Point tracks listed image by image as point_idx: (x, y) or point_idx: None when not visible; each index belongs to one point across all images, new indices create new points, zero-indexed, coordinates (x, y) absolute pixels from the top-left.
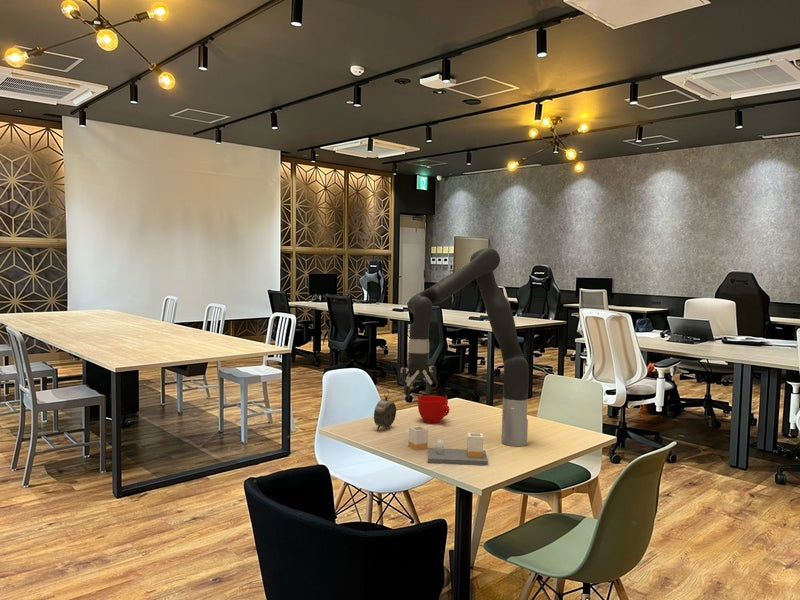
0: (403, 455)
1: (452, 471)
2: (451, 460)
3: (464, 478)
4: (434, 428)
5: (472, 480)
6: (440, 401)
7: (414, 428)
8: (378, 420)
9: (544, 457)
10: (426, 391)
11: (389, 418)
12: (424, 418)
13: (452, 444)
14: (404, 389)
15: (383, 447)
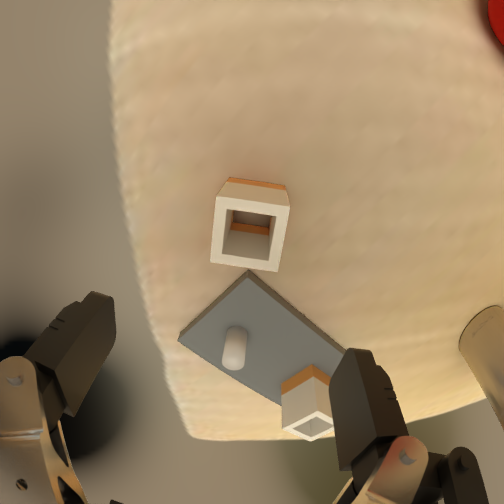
0: (153, 247)
1: (198, 389)
2: (229, 373)
3: (194, 414)
4: (475, 74)
5: (201, 423)
6: None
7: (243, 209)
8: None
9: (419, 410)
10: (349, 375)
11: None
12: (489, 11)
13: (383, 254)
14: (44, 338)
15: (142, 134)
